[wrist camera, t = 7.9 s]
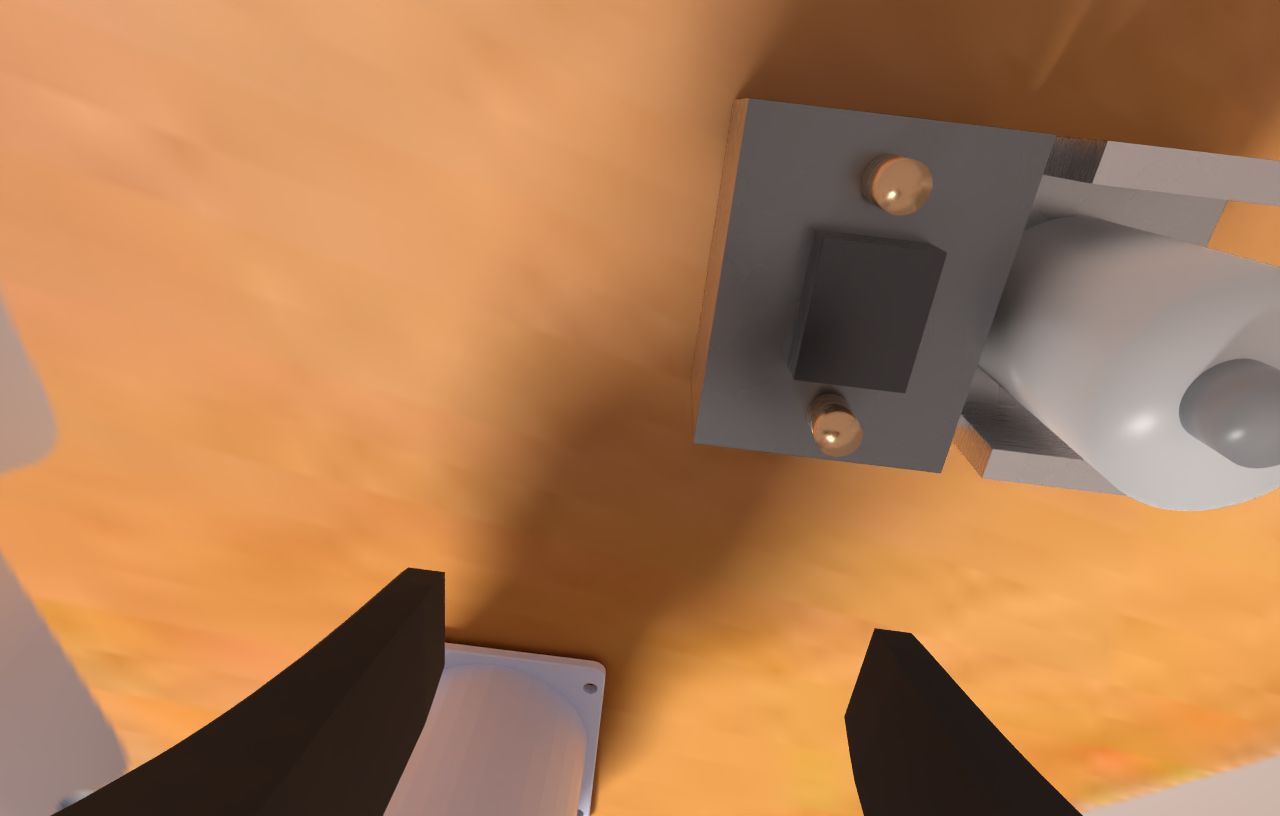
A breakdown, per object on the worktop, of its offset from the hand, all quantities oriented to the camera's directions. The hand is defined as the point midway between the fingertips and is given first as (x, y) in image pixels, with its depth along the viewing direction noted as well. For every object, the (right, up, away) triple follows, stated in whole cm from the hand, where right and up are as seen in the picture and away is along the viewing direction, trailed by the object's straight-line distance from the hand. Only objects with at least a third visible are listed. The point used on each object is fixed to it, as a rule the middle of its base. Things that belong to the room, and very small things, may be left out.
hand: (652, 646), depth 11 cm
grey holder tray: (+8, +8, +7) cm, 13 cm away
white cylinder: (+11, +7, +6) cm, 14 cm away
